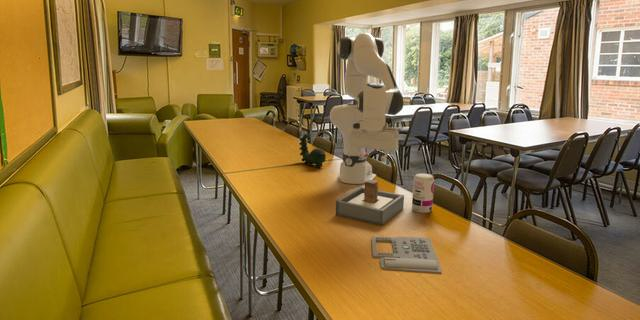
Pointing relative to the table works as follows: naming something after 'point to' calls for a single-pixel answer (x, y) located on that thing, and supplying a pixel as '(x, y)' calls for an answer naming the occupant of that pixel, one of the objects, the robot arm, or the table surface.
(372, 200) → the peg
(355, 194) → the open box
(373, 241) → the office telephone
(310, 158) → the toy figurine
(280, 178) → the table surface
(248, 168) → the table surface
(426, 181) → the supplement can
